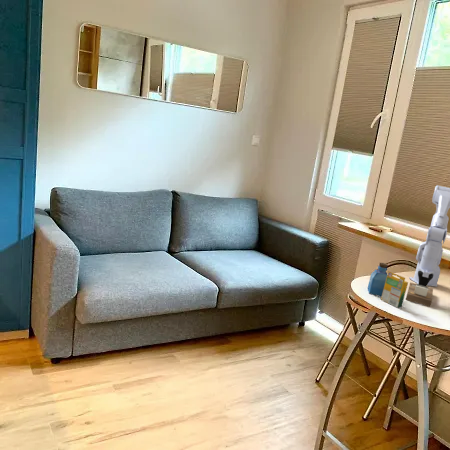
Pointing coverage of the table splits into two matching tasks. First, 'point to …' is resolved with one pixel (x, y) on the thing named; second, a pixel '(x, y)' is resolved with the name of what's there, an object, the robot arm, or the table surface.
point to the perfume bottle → (378, 280)
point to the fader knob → (421, 290)
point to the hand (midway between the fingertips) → (421, 290)
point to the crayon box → (394, 290)
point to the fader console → (419, 296)
